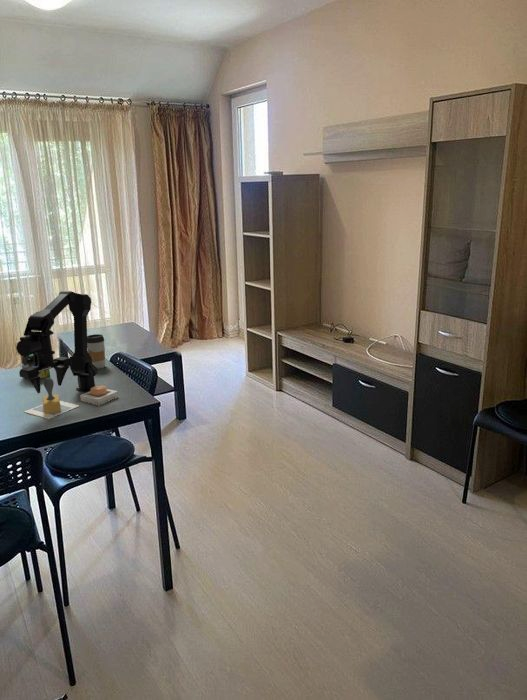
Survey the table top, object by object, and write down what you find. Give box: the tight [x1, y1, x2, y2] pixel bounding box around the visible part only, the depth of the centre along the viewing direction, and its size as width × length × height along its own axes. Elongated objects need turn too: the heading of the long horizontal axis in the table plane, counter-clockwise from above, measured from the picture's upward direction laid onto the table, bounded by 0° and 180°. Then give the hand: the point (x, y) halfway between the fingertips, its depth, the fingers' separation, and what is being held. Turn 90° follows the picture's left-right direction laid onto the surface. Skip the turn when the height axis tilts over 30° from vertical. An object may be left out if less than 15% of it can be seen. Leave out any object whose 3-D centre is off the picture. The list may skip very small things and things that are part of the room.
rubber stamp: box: [42, 377, 61, 414], centre depth 201 cm, size 10×6×12 cm, turn 22°
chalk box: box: [19, 354, 51, 380], centre depth 239 cm, size 9×9×15 cm
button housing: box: [79, 388, 119, 406], centre depth 211 cm, size 10×10×2 cm
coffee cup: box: [87, 333, 106, 370], centre depth 251 cm, size 8×8×15 cm
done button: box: [91, 385, 108, 397], centre depth 210 cm, size 6×6×2 cm
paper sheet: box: [23, 400, 80, 420], centre depth 202 cm, size 14×14×1 cm
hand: (49, 389), depth 200 cm, fingers open, 9 cm apart
